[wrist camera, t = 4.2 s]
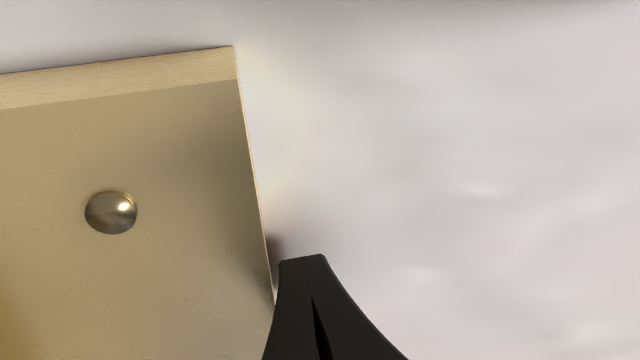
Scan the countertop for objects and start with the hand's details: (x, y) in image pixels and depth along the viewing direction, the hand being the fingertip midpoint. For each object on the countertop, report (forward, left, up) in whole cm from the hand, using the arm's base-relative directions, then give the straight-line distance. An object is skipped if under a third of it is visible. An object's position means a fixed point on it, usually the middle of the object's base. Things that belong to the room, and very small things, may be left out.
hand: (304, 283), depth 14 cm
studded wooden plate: (0, +6, -1) cm, 6 cm away
